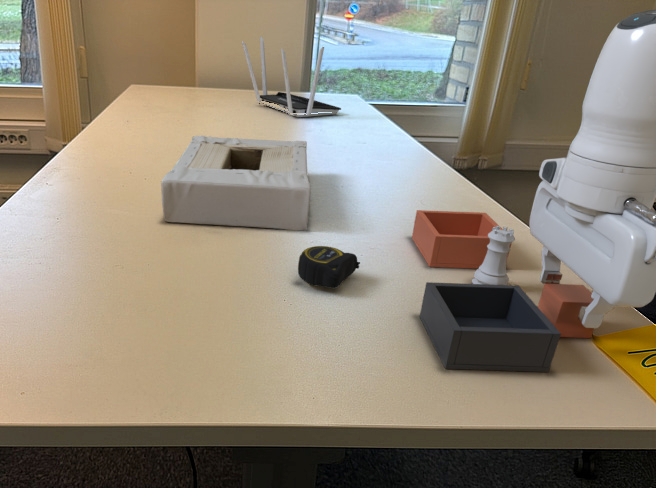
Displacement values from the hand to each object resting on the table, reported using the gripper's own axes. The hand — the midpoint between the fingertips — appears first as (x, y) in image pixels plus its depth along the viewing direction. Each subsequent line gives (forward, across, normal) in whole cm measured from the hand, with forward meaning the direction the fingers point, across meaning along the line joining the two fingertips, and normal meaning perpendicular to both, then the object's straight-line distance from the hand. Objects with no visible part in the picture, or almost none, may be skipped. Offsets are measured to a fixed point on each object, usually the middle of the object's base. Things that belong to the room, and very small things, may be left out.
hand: (566, 303), depth 66 cm
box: (+4, +44, +38) cm, 58 cm away
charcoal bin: (+3, -4, +11) cm, 12 cm away
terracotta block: (+3, 0, 0) cm, 3 cm away
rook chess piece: (+3, +10, +5) cm, 12 cm away
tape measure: (+4, +10, +26) cm, 28 cm away
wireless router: (+4, +130, +25) cm, 132 cm away
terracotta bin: (+3, +21, +6) cm, 22 cm away
